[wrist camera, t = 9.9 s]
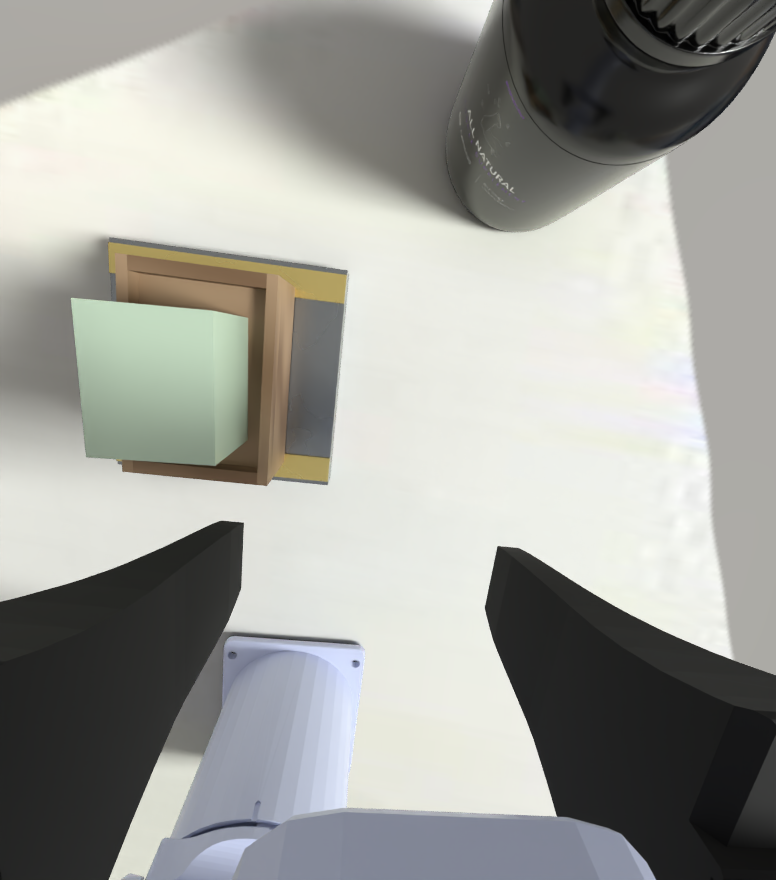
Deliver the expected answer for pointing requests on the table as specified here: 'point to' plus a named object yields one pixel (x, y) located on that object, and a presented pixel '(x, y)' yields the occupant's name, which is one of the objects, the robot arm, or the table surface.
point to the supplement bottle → (591, 96)
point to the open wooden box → (268, 353)
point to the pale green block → (161, 381)
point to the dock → (310, 352)
